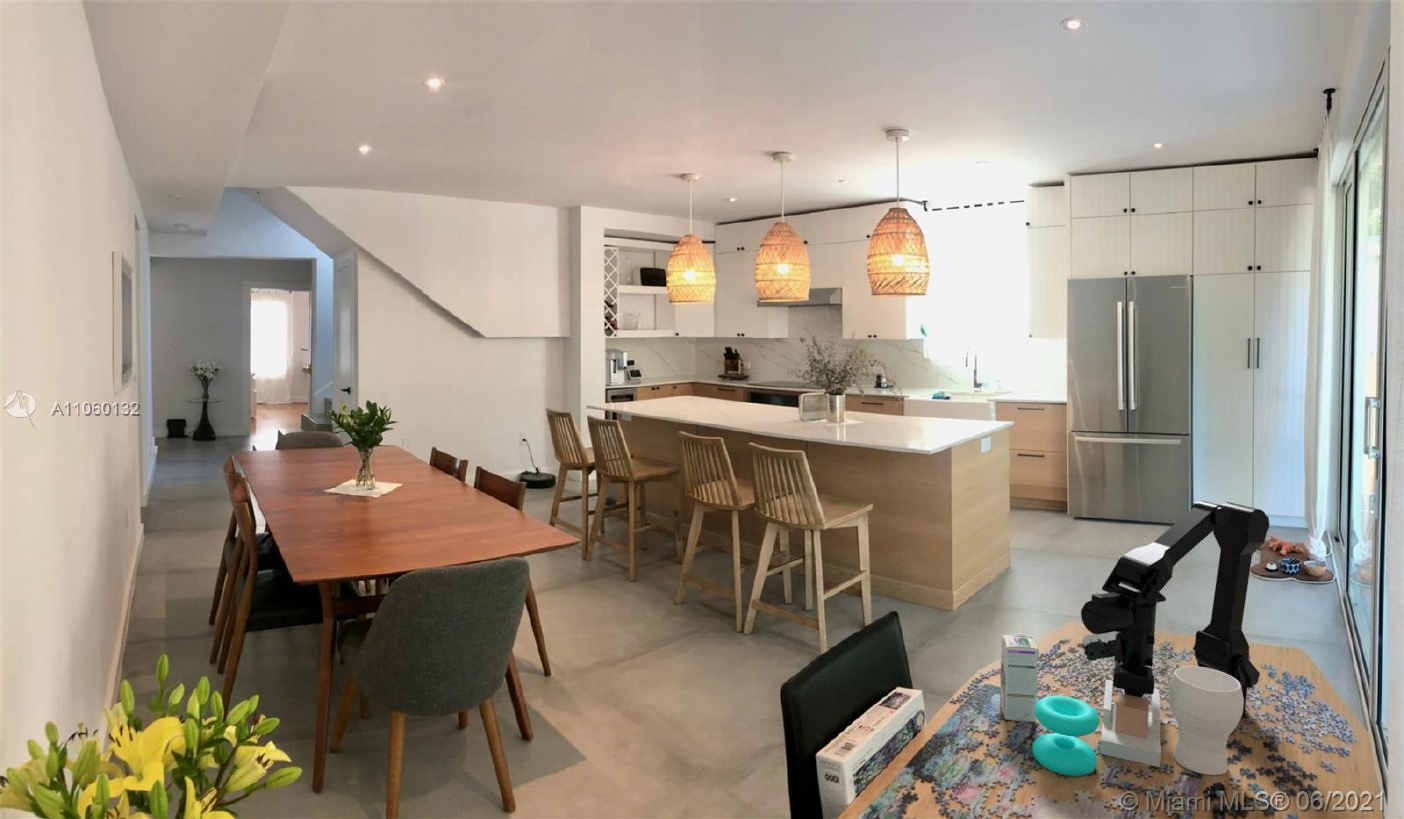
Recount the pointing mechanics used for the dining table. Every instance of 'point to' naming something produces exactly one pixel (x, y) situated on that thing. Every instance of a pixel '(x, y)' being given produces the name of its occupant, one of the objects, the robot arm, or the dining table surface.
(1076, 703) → the donuts
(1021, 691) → the syrup box
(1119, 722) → the terracotta cube
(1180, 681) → the cup
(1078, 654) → the dining table surface
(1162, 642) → the dining table surface
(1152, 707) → the grey channel
